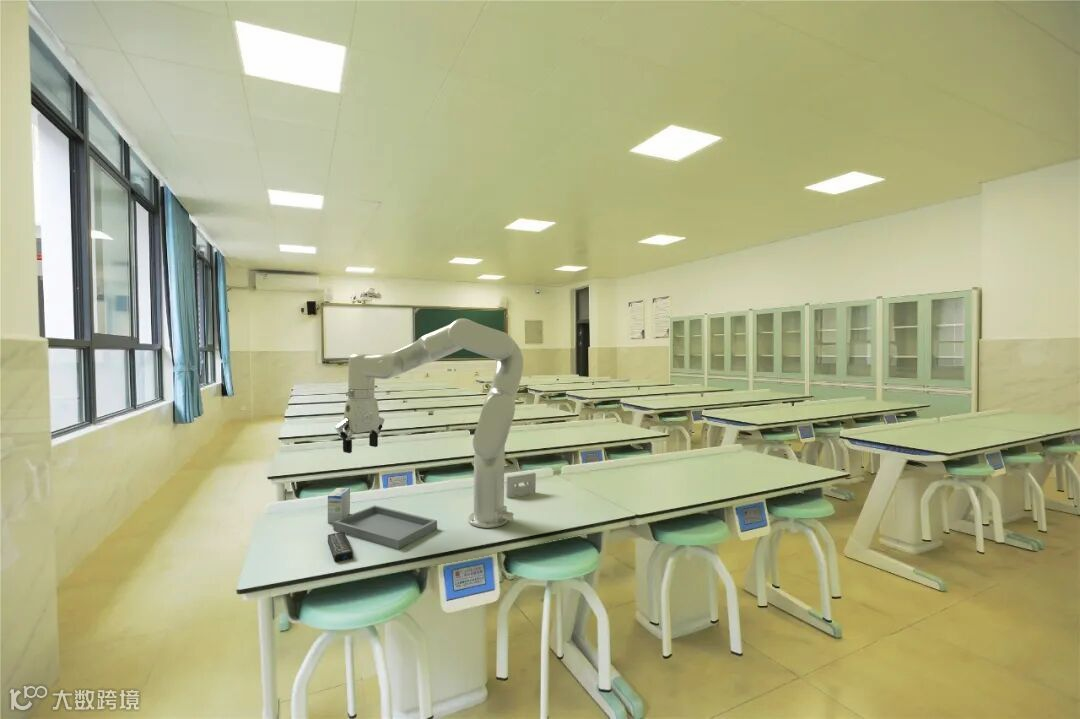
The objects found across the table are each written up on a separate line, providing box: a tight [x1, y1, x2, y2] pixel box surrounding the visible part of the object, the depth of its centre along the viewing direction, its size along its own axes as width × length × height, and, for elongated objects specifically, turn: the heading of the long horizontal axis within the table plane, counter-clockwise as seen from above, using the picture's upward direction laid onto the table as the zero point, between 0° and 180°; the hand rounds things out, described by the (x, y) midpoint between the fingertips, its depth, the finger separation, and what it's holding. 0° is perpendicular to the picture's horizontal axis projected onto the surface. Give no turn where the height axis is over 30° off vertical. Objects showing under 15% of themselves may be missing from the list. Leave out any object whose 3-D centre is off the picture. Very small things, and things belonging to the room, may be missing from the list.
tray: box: [332, 504, 438, 551], centre depth 140 cm, size 26×16×2 cm, turn 63°
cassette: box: [505, 472, 537, 499], centre depth 173 cm, size 12×2×8 cm, turn 121°
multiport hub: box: [327, 532, 354, 563], centre depth 127 cm, size 4×14×2 cm, turn 31°
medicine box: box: [327, 487, 351, 524], centre depth 148 cm, size 8×4×9 cm, turn 5°
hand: (360, 449), depth 144 cm, fingers open, 9 cm apart
